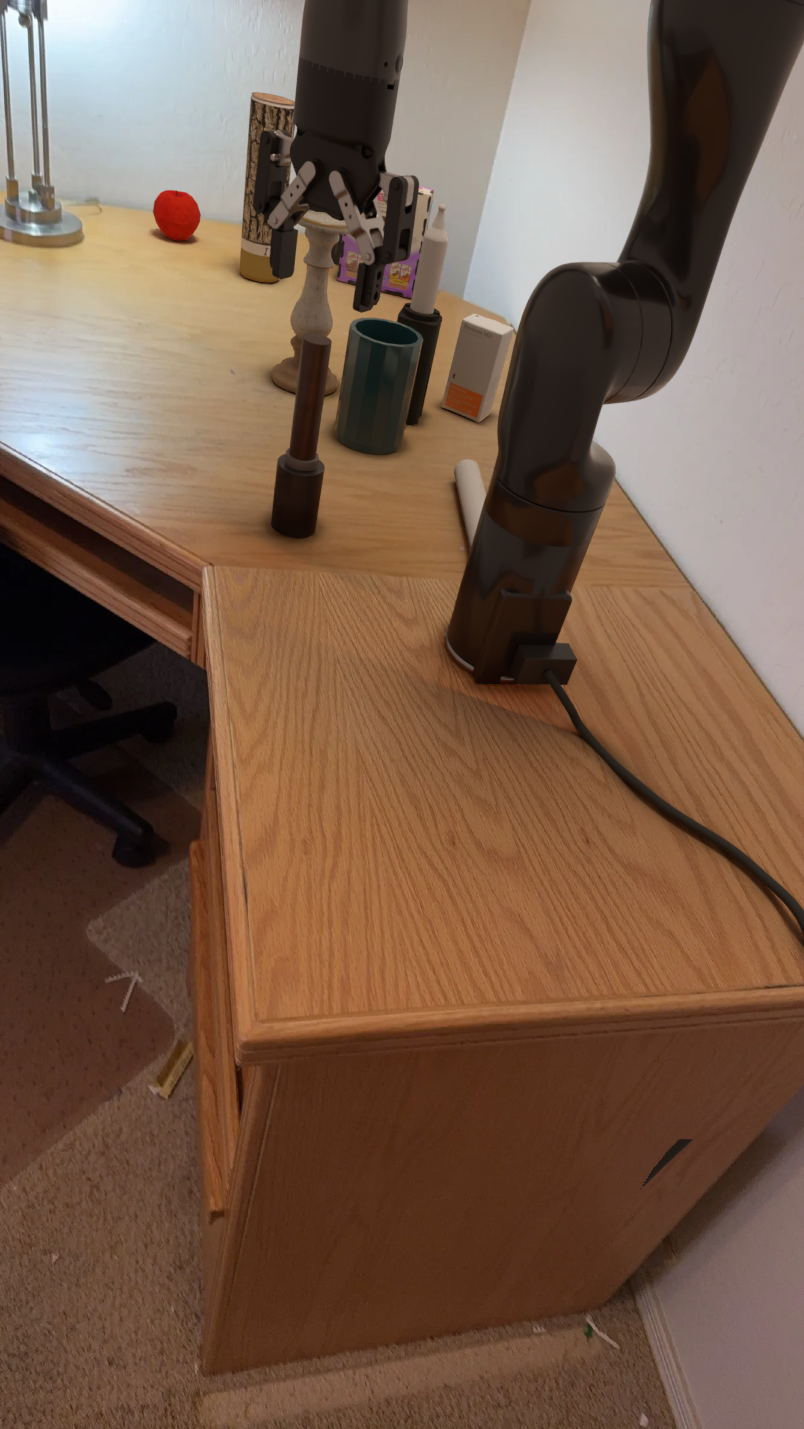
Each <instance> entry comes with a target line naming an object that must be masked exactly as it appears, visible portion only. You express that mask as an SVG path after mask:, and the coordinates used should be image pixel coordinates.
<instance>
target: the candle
mask: <svg viewBox="0 0 804 1429" xmlns="http://www.w3.org/2000/svg"><path fill="white" fill-rule="evenodd" d="M437 209H438V212H437V213H436V216H435V217H434V220H433V222H432V223H431V225H430V226H429V227H428V230H427V231H426V232H425V234H424V237H423V243H422V248H421V253H420V258H419V264H418V269H417V274H416V279H415V284H414V290H413V295H412V298H411V301H410V302H406V303H404V304H403V306H402V308H401V309H400V311H399V312H398V313H397V319H396V322H399V323H402V324H404V325H406V326H409V327H411V328H413V329H414V330H416V331H417V332H419V333H420V334H421V336H422V338H423V344H422V349H421V353H420V358H419V363H418V368H417V373H416V378H415V382H414V387H413V392H412V397H411V402H410V407H409V411H408V416H407V421H406V425H409V426H414V425H417V424H418V422H419V418H420V417H421V416H422V414H423V410H424V405H425V400H426V396H427V392H428V386H429V382H430V377H431V373H432V368H433V364H434V358H435V354H436V349H437V345H438V340H439V336H440V332H441V326H442V322H443V316H442V315H441V312H440V310H438V309H437V308H436V301H437V298H438V297H437V296H438V292H439V288H440V283H441V278H442V272H443V269H444V263H445V258H446V255H447V254H446V253H447V249H448V245H449V237H448V233H447V230H446V221H445V212H446V209H447V207H446V205H445V204H444V203H440V204H439V205H438V207H437Z"/></svg>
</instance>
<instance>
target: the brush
mask: <svg viewBox="0 0 804 1429" xmlns="http://www.w3.org/2000/svg"><path fill="white" fill-rule="evenodd" d="M332 343H333V341H332V339H331V338H330V337H329V336H327V337H326V336H323V335H320V334H314V333H309V334H305V335H303V337H302V346H301V354H300V363H299V371H298V380H297V388H296V393H295V399H294V405H293V406H294V407H293V414H292V416H293V417H292V424H291V431H290V432H291V433H290V441H289V448H287V449H286V451H285V453H284V454H281V455H280V456H279V457H277V461H276V462H277V463H276V469H275V470H276V471H275V480H274V487H273V488H274V489H273V497H272V498H273V500H272V507H271V516H270V517H271V519H270V526H271V528H272V530H273V531H274V532H276V534H279V535H280V536H283V537H286V538H290V539H305V538H309V537H311V536H313V535H314V534H315V533H316V529H317V525H318V524H317V523H318V518H319V517H318V516H319V509H320V503H321V496H322V489H323V481H324V476H325V468H326V466H325V464H324V462H322V461H321V460H320V456H319V454H318V452H317V451H318V444H319V438H320V429H321V423H322V416H323V407H324V400H325V396H326V395H325V387H326V380H327V373H328V367H329V364H330V358H331V352H332V351H331V350H332Z"/></svg>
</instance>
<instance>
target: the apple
mask: <svg viewBox="0 0 804 1429" xmlns="http://www.w3.org/2000/svg"><path fill="white" fill-rule="evenodd" d="M152 214H153V218H154V220H155V223H156V225H157V227H158V228H159V230H160V232H162V234H163V235H164V236H165V237H166V238H168V239H170V240H172V241H177V242H180V241H181V242H183V241H187V240H189V239H190V238H191V237H192V236H193V235H194V234H195V232H196V231H197V229H198V227H199V225H200V223H201V218H202V217H201V215H202V214H201V211H200V208H199V204H198V202H197V201H196V200H195V198H194V196H192V195H191V194H189V193H188V192H186V191H181V190H176V189H175V190H174V189H166V190H163V191H160V193H159V194H158V195H157V196H156V198H155V199H154V202H153V208H152Z"/></svg>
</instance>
